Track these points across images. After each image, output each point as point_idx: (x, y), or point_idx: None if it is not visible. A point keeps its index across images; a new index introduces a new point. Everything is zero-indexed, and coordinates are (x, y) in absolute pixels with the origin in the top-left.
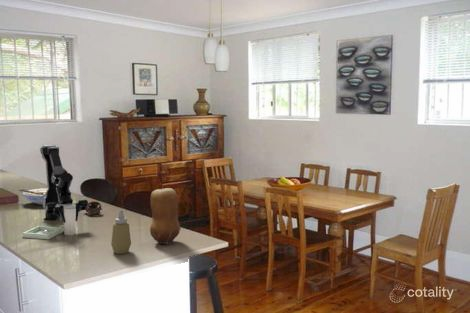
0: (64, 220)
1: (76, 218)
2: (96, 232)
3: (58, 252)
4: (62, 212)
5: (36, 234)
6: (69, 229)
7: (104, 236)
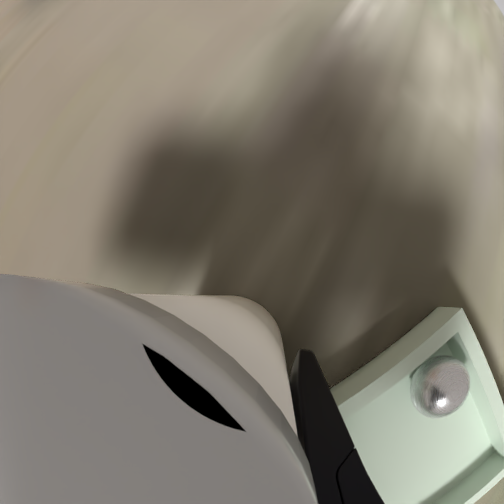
0: (307, 361)
1: None
2: (56, 255)
3: (443, 51)
4: (324, 485)
5: (496, 391)
6: (254, 306)
7: (84, 131)
